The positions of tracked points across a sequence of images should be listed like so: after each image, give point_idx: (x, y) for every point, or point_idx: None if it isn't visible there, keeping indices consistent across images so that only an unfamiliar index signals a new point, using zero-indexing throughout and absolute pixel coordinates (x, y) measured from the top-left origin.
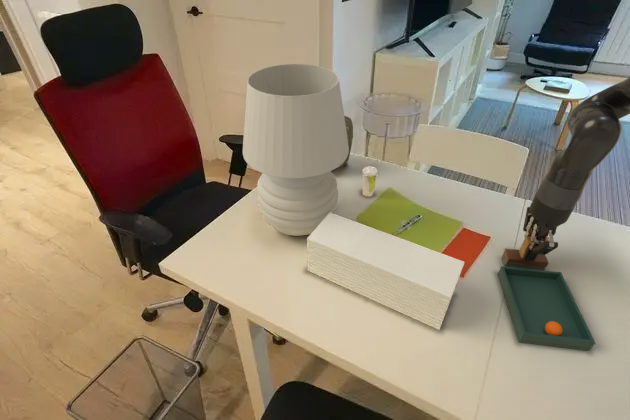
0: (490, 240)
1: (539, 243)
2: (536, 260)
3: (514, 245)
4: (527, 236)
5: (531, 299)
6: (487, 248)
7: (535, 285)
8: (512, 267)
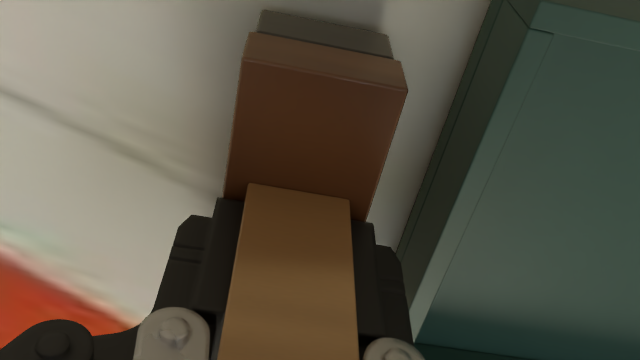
0: (25, 259)
1: None
2: (362, 188)
3: (50, 115)
4: None
5: (637, 270)
6: (123, 303)
7: (538, 197)
8: None
